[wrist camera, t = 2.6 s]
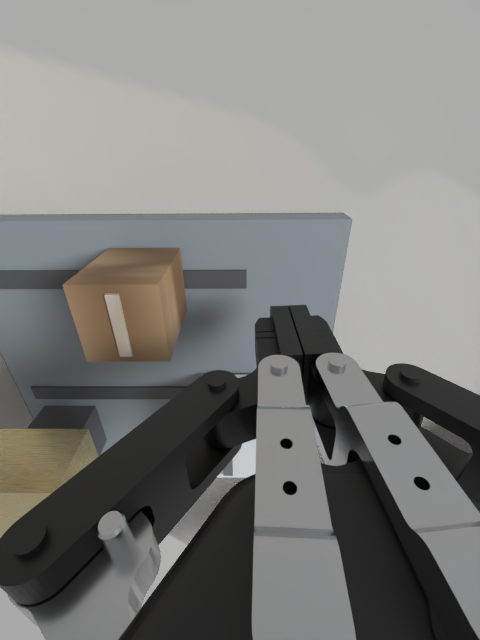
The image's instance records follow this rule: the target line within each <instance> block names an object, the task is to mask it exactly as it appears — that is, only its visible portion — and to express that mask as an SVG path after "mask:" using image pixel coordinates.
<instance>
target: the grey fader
mask: <svg viewBox="0 0 480 640" xmlns="http://www.w3.org/2000/svg"><path fill="white" fill-rule="evenodd" d="M235 376H236V377H237V378H240V377H243V376H246V375H235ZM255 473H256V439H254V440H251V441H248V442H245V443H242V446H241V449H240V450H239V452H238V453H237V454H236V455H235V456H234V458H233V459H232V460H231V461H230V462H229V463H228V465H227V466H226V467H225V468H224V469H223V470H222V472H221V473H220V474H219V475H218V476H217V477H216V478H247V477H249V476H251V475H254V474H255Z"/></svg>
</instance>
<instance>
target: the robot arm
mask: <svg viewBox="0 0 480 640" xmlns="http://www.w3.org/2000/svg"><path fill="white" fill-rule="evenodd" d="M255 356H256V367H257V368H256V369H255V370H254V371H253V372H252V373H250V374H248V375H246V376H243V377H240V378H237V377H236V376H235V375H234V374H233V373H231V372H228V371H225V370H214V371H210V372H207V373H205V374H203V375H202V376H200V377H199V378H198V379H197V380H195V381H194V382H193V383H192V384H190V385H189V386H188V387H186V388H185V389H184V390H183V391H181V392H180V393H179V394H178V395H176V396H175V397H174V398H172V399H171V400H170V401H169V402H167V403H166V404H165V405H164V406H162V407H161V408H160V409H158V410H157V411H156V412H155V413H153V414H152V415H151V416H150V417H148V418H147V419H146V420H144V421H143V422H142V423H141V424H139V425H138V426H137V427H136V428H134V429H133V430H132V431H130V432H129V433H128V434H127V435H125V436H124V437H123V438H122V439H120V440H119V441H118V442H116V443H115V444H114V445H113V446H111V447H110V448H109V449H107V450H106V451H105V452H104V453H102V454H101V455H100V456H99V457H97V458H96V459H95V460H93V461H92V462H91V463H90V464H88V465H87V466H86V467H85V468H83V469H82V470H81V471H79V472H78V473H77V474H76V475H74V476H73V477H72V478H71V479H69V480H68V481H67V482H65V483H64V484H63V485H62V486H60V487H59V488H58V489H57V490H55V491H54V492H53V493H51V494H50V495H49V496H48V497H46V498H45V499H44V500H43V501H41V502H40V503H39V504H37V505H36V506H35V507H34V508H32V509H31V510H30V511H29V512H27V513H26V514H25V515H23V516H22V517H21V518H20V519H18V520H17V521H16V522H15V523H14V524H13V525H11V527H10V528H9V529H8V530H7V531H6V532H5V533H4V534H3V536H2V537H1V538H0V587H1V588H2V589H3V590H4V591H5V592H6V593H7V594H8V597H9V599H10V601H11V602H12V603H13V604H14V605H15V606H16V607H17V608H18V609H19V610H20V611H21V612H22V613H23V614H24V615H25V616H26V617H27V618H28V619H29V620H30V621H31V622H33V623H34V624H35V625H37V626H38V627H39V628H40V630H41V632H42V634H43V636H44V638H45V639H46V640H480V395H477V394H475V393H473V392H471V391H469V390H467V389H465V388H462V387H460V386H458V385H456V384H454V383H452V382H449V381H447V380H445V379H443V378H441V377H439V376H437V375H434V374H432V373H430V372H428V371H426V370H424V369H421V368H419V367H417V366H414V365H410V364H394V365H391V366H389V367H388V368H387V370H386V373H385V374H381V373H375V372H369V371H365V370H362V369H361V368H360V367H359V365H358V364H357V362H356V361H355V360H354V359H352V358H351V357H349V356H347V355H344V354H343V352H342V350H341V348H340V346H339V345H338V343H337V341H336V339H335V337H334V336H333V333H332V331H331V330H330V327H329V325H328V323H327V321H326V320H324V319H323V318H322V317H320V316H319V315H315V316H311V315H310V313H309V311H308V308H307V306H306V305H288V306H287V305H285V306H270V317H267V318H259V319H258V320H257V322H256V323H255ZM306 405H309V406H310V407H306ZM424 417H426V418H428V419H429V420H431V421H433V422H435V423H436V424H438V425H440V426H442V427H443V428H445V429H447V430H449V431H451V432H452V433H454V434H456V435H458V436H459V437H461V438H463V439H464V440H465V441H467V442H468V443H469V445H470V446H471V448H472V450H473V454H471V453H466V452H463V451H462V450H460V449H458V448H456V447H455V446H453V445H451V444H450V443H448V442H446V441H445V440H443V439H441V438H439V437H438V436H436V435H434V434H433V433H431V432H429V431H428V430H426V429H424V428H423V427H421V423H422V420H423V418H424ZM254 439H256V473H255V474H254V475H251V476H249V477H247V478H245V479H244V480H242V481H240V482H239V483H238V484H236V485H235V486H234V487H233V488H231V489H230V490H229V492H228V493H227V494H226V495H225V496H224V497H223V498H222V500H221V501H220V502H219V504H218V505H217V506H216V508H215V509H214V510H213V512H212V513H211V514H210V516H209V517H208V519H207V520H206V521H205V523H204V524H203V525H202V527H201V528H200V529H199V531H198V532H197V533H196V535H195V536H194V537H193V539H192V540H191V542H190V543H189V544H188V546H187V547H186V548H185V550H184V551H183V552H182V554H181V555H180V556H179V558H178V559H177V561H176V562H175V563H174V565H173V566H172V567H171V569H170V570H169V571H168V573H167V574H166V576H165V577H164V578H163V579H162V581H161V582H160V584H159V585H158V586H157V588H156V589H155V590H154V592H153V593H152V594H151V596H150V597H149V598H148V600H147V601H146V602H145V604H144V605H143V606H142V603H143V600H144V597H145V595H146V593H147V591H148V590H149V588H150V586H151V585H152V583H153V581H154V580H155V578H156V575H157V574H158V571H159V567H160V561H161V560H160V559H161V555H160V549H159V546H158V545H159V544H160V543H161V541H162V540H163V539H164V538H165V537H166V536H167V534H168V533H169V532H170V531H171V530H172V529H173V527H174V526H175V525H176V524H177V523H178V522H179V521H180V519H181V518H182V517H183V516H184V515H185V514H186V512H187V511H188V510H189V509H190V508H191V507H192V505H193V504H194V503H195V502H196V501H197V500H198V498H199V497H200V496H201V495H202V494H203V493H204V491H205V490H206V489H207V488H208V487H209V486H210V484H211V483H212V482H213V481H214V480H215V479H216V477H217V476H218V475H219V474H220V473H221V472H222V470H223V469H224V468H225V467H226V466H227V465H228V463H229V462H230V461H231V460H232V459H233V458H234V456H235V455H236V454H237V453H238V452H239V450H240V449H241V446H242V443H245V442H248V441H251V440H254ZM317 444H318V446H317ZM318 447H319V449H320V452H321V455H322V458H323V460H324V463H325V464H322V463H320V457H319V452H318ZM141 606H142V608H141Z"/></svg>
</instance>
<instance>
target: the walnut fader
mask: <svg viewBox="0 0 480 640" xmlns="http://www.w3.org/2000/svg"><path fill="white" fill-rule="evenodd" d="M63 289H64V292H65V295H66V298H67V301H68V304H69V307H70V310H71V313H72V316H73V319H74V323H75V326H76V329H77V332H78V335H79V338H80V341H81V344H82V347H83V350H84V354H85V357H86V360H87V362H170V360H171V357H172V354H173V351H174V348H175V345H176V342H177V339H178V336H179V333H180V330H181V327H182V324H183V321H184V318H185V315H186V312H187V305H186V296H185V287H184V277H183V268H182V258H181V249H180V248H109V249H107V250H106V251H105V252H104V253H102V254H101V255H100V256H99V257H97V258H96V259H95V260H93V261H92V262H91V263H90V264H88V265H87V266H86V267H84V268H83V269H82V270H81V271H79V272H78V273H77V274H76V275H74V276H73V277H72V278H70V279H69V280H68V281H67V282H65V283H64V284H63Z"/></svg>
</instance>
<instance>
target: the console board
mask: <svg viewBox="0 0 480 640" xmlns="http://www.w3.org/2000/svg"><path fill="white" fill-rule="evenodd" d="M351 223H352V219H351V218H350V217H348V216H347V215H346V214H344V213H243V214H62V215H0V353H1V355H2V357H3V359H4V361H5V363H6V365H7V367H8V369H9V371H10V373H11V375H12V377H13V379H14V381H15V383H16V385H17V387H18V389H19V391H20V393H21V395H22V397H23V399H24V401H25V404H26V406H27V408H28V410H29V412H30V414H31V416H32V418H33V422H32V423H31V424H30V426H29V427H28V428H27V429H89V432H90V435H91V437H92V440H93V443H94V445H95V448H96V451H97V453H98V456H100V455H101V454H102V453H104V452H105V451H106V450H107V449H109V448H110V447H111V446H113V445H114V444H115V443H116V442H118V441H119V440H120V439H122V438H123V437H124V436H125V435H127V434H128V433H129V432H130V431H132V430H133V429H134V428H136V427H137V426H138V425H139V424H141V423H142V422H143V421H144V420H146V419H147V418H148V417H150V416H151V415H152V414H153V413H155V412H156V411H157V410H158V409H160V408H161V407H162V406H164V405H165V404H166V403H167V402H169V401H170V400H171V399H172V398H174V397H175V396H176V395H178V394H179V393H180V392H181V391H183V390H184V389H185V388H186V387H188V386H189V385H190V384H192V383H193V382H194V381H195V380H197V379H198V378H199V377H200V376H202V375H203V374H205V373H207V372H210V371H214V370H225V371H228V372H231V373H233V374H234V375H248V374H250V373H252V372H253V371H254V370H255V369H256V368H257V367H256V356H255V323H256V322H257V320H258V319H259V318H267V317H270V306H285V305H287V306H288V305H306V306H307V308H308V311H309V313H310V315H311V316H315V315H319V316H320V317H322V318H323V319H324V320H326V321H327V323H328V325H329V327H330V330H331V331H332V333H333V328H334V323H335V317H336V311H337V305H338V299H339V293H340V288H341V282H342V276H343V270H344V264H345V258H346V253H347V247H348V241H349V235H350V229H351ZM109 248H180V249H181V258H182V268H183V277H184V287H185V296H186V305H187V312H186V315H185V318H184V321H183V324H182V327H181V330H180V333H179V336H178V339H177V342H176V345H175V348H174V351H173V354H172V357H171V360H170V362H87V360H86V357H85V354H84V350H83V347H82V344H81V341H80V338H79V335H78V332H77V329H76V326H75V323H74V319H73V316H72V313H71V310H70V307H69V304H68V301H67V298H66V295H65V292H64V289H63V284H64V283H65V282H67V281H68V280H69V279H70V278H72V277H73V276H74V275H76V274H77V273H78V272H79V271H81V270H82V269H83V268H84V267H86V266H87V265H88V264H90V263H91V262H92V261H93V260H95V259H96V258H97V257H99V256H100V255H101V254H102V253H104V252H105V251H106V250H107V249H109ZM306 407H310V406H309V405H306Z"/></svg>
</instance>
